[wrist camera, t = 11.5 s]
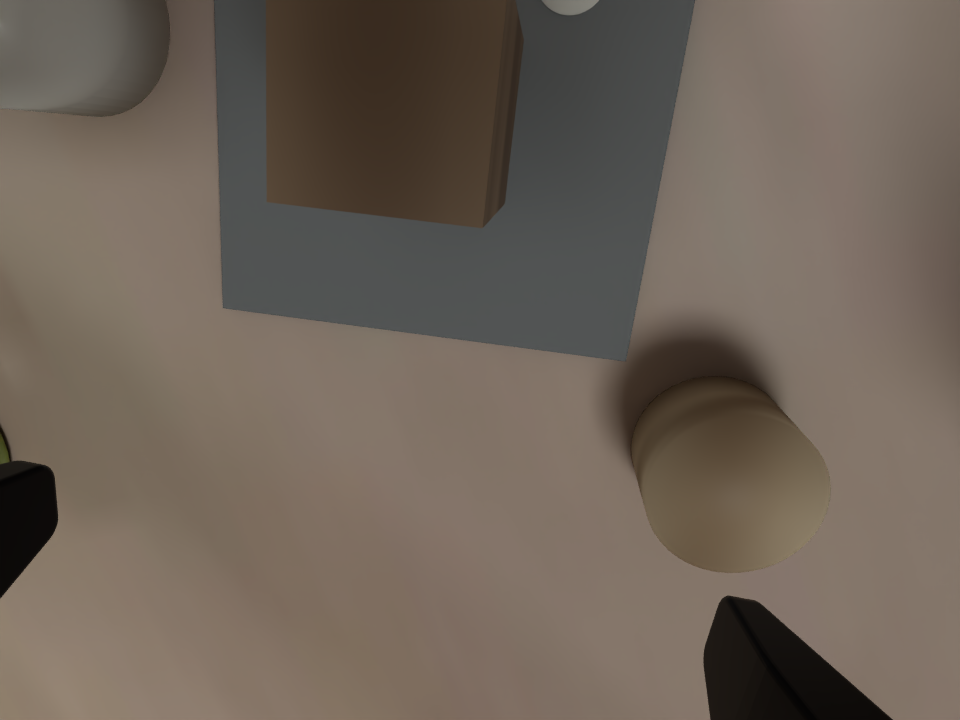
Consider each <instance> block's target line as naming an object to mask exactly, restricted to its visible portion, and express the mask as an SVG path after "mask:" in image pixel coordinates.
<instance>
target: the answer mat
mask: <svg viewBox="0 0 960 720" xmlns="http://www.w3.org/2000/svg"><path fill="white" fill-rule="evenodd" d="M515 1H516V6H517V10H518V15H519V20H520V24H521V29H522V34H523V38H524V44H523V52H522V61H521V69H520V78H519V87H518V95H517V104H516V112H515V121H514V130H513V138H512V147H511V155H510V164H509V173H508V181H507V190H506V198H505V204H504V205H503V207H502V208H501V209H500V210H499V211H498V212H497V213H496V214H495V215H494V216H493V217H492V219H491V220H490V221H489V222H488V223H487V224H486V225H485V226H484V227H483V228H475V227H467V226H459V225H451V224H442V223H434V222H426V221H418V220H409V219H401V218H393V217H385V216H376V215H368V214H360V213H352V212H343V211H335V210H327V209H319V208H310V207H302V206H294V205H286V204H277V203H269V202H267V178H266V0H214V11H215V46H216V82H217V117H218V153H219V188H220V224H221V259H222V295H223V308H226V309H233V310H241V311H248V312H256V313H263V314H271V315H279V316H286V317H294V318H301V319H309V320H316V321H324V322H331V323H339V324H346V325H354V326H362V327H369V328H377V329H384V330H392V331H399V332H407V333H414V334H422V335H430V336H437V337H445V338H452V339H460V340H467V341H475V342H482V343H490V344H498V345H505V346H513V347H520V348H528V349H535V350H543V351H550V352H558V353H565V354H573V355H581V356H588V357H596V358H603V359H611V360H618V361H626V358H627V353H628V347H629V342H630V337H631V332H632V327H633V321H634V316H635V311H636V306H637V300H638V295H639V290H640V285H641V280H642V274H643V269H644V264H645V259H646V254H647V248H648V243H649V238H650V233H651V227H652V222H653V217H654V212H655V207H656V201H657V196H658V191H659V186H660V180H661V175H662V170H663V165H664V160H665V154H666V149H667V144H668V139H669V134H670V128H671V123H672V118H673V113H674V107H675V102H676V97H677V92H678V87H679V81H680V76H681V71H682V66H683V60H684V55H685V50H686V45H687V40H688V34H689V29H690V24H691V19H692V14H693V8H694V3H695V0H515Z"/></svg>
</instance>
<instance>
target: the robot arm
mask: <svg viewBox="0 0 960 720" xmlns="http://www.w3.org/2000/svg"><path fill="white" fill-rule="evenodd" d="M57 523H58V509H57V498H56V487H55V477H54V473H53V472H52V470H51V468H49V467H48V466H46V465H42V464H37V463H31V462H26V461H12V462H7V463H3V464H0V598H1V597H2V596H3V595H4V593H5V592H6V591H7V590H8V589H9V587H10V586H11V585H12V584H13V583H14V581H15V580H16V579H17V578H18V577H19V575H20V574H21V573H22V572H23V571H24V569H25V568H26V567H27V566H28V565H29V563H30V562H31V561H32V560H33V558H34V557H35V556H36V555H37V554H38V552H39V551H40V550H41V549H42V548H43V546H44V545H45V544H46V543H47V542H48V540H49V539H50V538H51V536H52V535H53V533H54V531H55V529H56V526H57ZM703 659H704V672H705V680H706V688H707V696H708V703H709V711H710V719H711V720H893V719H891V718H890V717H889V716H888V715H887V714H886V713H885V712H883V711H882V710H881V709H880V708H879V707H878V706H877V705H875V704H874V703H873V702H872V701H871V700H870V699H869V698H867V697H866V696H865V695H864V694H863V693H862V692H861V691H860V690H858V689H857V688H856V687H855V686H854V685H853V684H852V683H850V682H849V681H848V680H847V679H846V678H845V677H844V676H842V675H841V674H840V673H839V672H838V671H837V670H836V669H834V668H833V667H832V666H831V665H830V664H829V663H828V662H826V661H825V660H824V659H823V658H822V657H821V656H820V655H819V654H817V653H816V652H815V651H814V650H813V649H812V648H811V647H809V646H808V645H807V644H806V643H805V642H804V641H803V640H801V639H800V638H799V637H798V636H797V635H796V634H795V633H793V632H792V631H791V630H790V629H789V628H788V627H787V626H786V625H784V624H783V623H782V622H781V621H780V620H779V619H778V618H776V617H775V616H774V615H773V614H772V613H771V612H770V611H768V610H767V609H766V608H765V607H764V606H763V605H762V604H760V603H759V602H757V601H755V600H750V599H744V598H739V597H734V596H726V597H724V598H722V600H721V601H720V603H719V605H718V608H717V611H716V614H715V617H714V620H713V623H712V626H711V629H710V632H709V635H708V638H707V641H706V644H705V649H704V658H703Z"/></svg>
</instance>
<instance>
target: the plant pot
mask: <svg viewBox="0 0 960 720" xmlns="http://www.w3.org/2000/svg"><path fill="white" fill-rule="evenodd" d="M7 462H10V460H9V455H8V451H7V448H6V445H5V443H4V440H3V437H2V435H1V433H0V464H3V463H7Z"/></svg>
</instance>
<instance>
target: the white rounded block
mask: <svg viewBox="0 0 960 720" xmlns="http://www.w3.org/2000/svg"><path fill="white" fill-rule="evenodd" d="M169 43H170V23H169V14H168V9H167V4H166V0H0V108H1V109H13V110H24V111H35V112H47V113H58V114H69V115H81V116H94V117H104V116H112V115H116V114H120V113H123V112H125V111H127V110H129V109H131V108H133V107H135V106H136V105H137V104H139V103H140V102H141V101H143V100H144V99H145V98H146V97H147V96H148V95H149V94H150V92H151V91H152V90H153V88H154V87H155V86H156V84H157V82H158V80H159V79H160V77H161V75H162V72H163V70H164V67H165V64H166V60H167V56H168V51H169Z"/></svg>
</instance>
